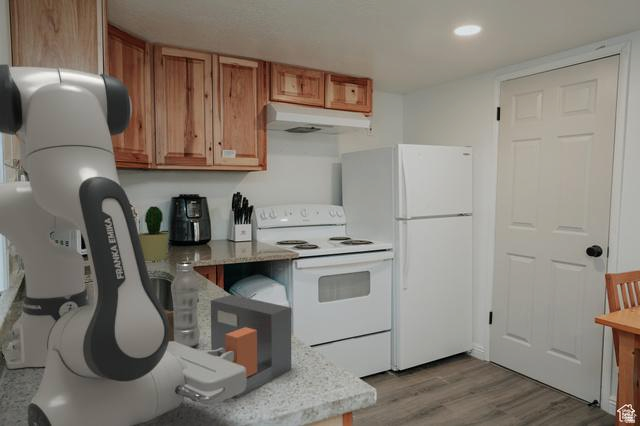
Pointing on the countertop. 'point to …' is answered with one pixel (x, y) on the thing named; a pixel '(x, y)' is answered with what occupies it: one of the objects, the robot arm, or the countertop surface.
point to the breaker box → (270, 334)
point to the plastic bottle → (185, 305)
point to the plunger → (243, 348)
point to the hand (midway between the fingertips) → (228, 353)
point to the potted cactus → (154, 236)
